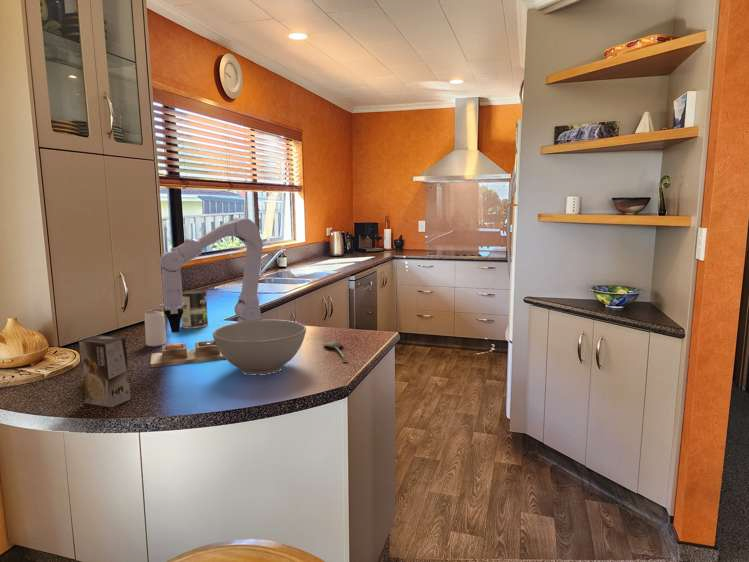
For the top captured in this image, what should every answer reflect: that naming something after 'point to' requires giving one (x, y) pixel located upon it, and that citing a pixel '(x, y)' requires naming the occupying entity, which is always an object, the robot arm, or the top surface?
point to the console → (186, 355)
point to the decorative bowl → (260, 344)
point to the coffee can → (194, 309)
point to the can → (155, 328)
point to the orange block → (174, 346)
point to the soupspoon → (336, 347)
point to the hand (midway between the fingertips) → (175, 331)
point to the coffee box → (105, 370)
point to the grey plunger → (206, 343)
